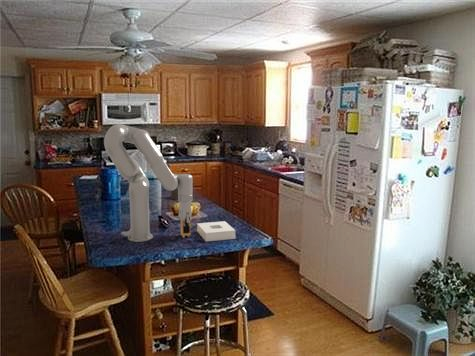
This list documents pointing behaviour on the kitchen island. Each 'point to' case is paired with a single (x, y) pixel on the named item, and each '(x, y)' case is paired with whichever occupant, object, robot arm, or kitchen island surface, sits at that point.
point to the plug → (182, 229)
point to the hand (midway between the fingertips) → (185, 231)
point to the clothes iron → (176, 193)
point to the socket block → (215, 231)
